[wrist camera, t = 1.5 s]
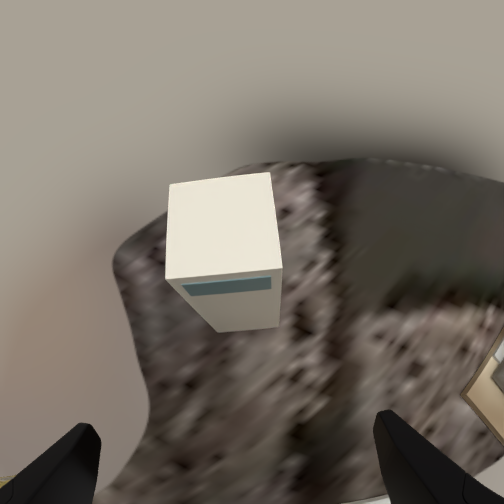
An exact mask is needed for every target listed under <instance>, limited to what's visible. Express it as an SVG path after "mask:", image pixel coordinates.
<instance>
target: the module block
mask: <svg viewBox="0 0 504 504" xmlns="http://www.w3.org/2000/svg"><path fill="white" fill-rule="evenodd" d="M168 205H169V206H168V221H167V243H166V278H165V279H166V280H167V281H168V282H169V284H170V285H171V286H172V287H173V288H174V289H175V290H176V291H177V292H178V293H179V294H180V295H181V296H182V297H183V298H184V299H185V300H186V301H187V302H188V303H189V304H190V305H191V306H192V307H193V308H194V309H195V310H196V311H197V312H198V313H199V314H200V315H201V316H202V317H203V318H204V319H205V320H206V321H207V322H208V323H209V324H210V325H211V326H212V327H213V328H214V329H215V330H216V331H217V332H218V333H219V332H232V331H244V330H256V329H266V328H276V327H279V320H280V304H281V288H282V270H283V267H282V259H281V252H280V244H279V236H278V228H277V221H276V213H275V206H274V199H273V192H272V185H271V178H270V172H267V173H257V174H248V175H238V176H230V177H221V178H214V179H206V180H198V181H191V182H184V183H177V184H170V189H169V204H168Z"/></svg>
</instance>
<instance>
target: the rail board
mask: <svg viewBox="0 0 504 504" xmlns="http://www.w3.org/2000/svg"><path fill="white" fill-rule="evenodd" d="M460 395H461V396H462V397H463V399H464V400H465V401H466V402H467V403H468V404H469V405H470V407H471V408H472V409H473V410H474V411H475V412H476V414H477V415H478V416H479V417H480V418H481V419H482V421H483V422H484V423H485V424H486V425H487V427H488V428H489V429H490V430H491V431H492V433H493V434H494V435H495V436H496V437H497V439H498V440H499V441H500V442H501V444H502V445H503V446H504V327H503V329H502V330H501V332H500V334H499V336H498V338H497V339H496V341H495V343H494V344H493V346H492V348H491V349H490V351H489V353H488V354H487V356H486V358H485V359H484V361H483V362H482V364H481V365H480V367H479V368H478V370H477V371H476V373H475V374H474V376H473V377H472V379H471V380H470V382H469V383H468V385H467V386H466V387H465V389H464V390H463V392H462V393H461V394H460Z"/></svg>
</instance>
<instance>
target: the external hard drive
mask: <svg viewBox="0 0 504 504" xmlns="http://www.w3.org/2000/svg"><path fill="white" fill-rule="evenodd" d="M343 504H391V502H390V499H389V496H388V494H387V495H383V496H379V497H374V498H369V499H365V500H359V501H354V502H349V503H343Z"/></svg>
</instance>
